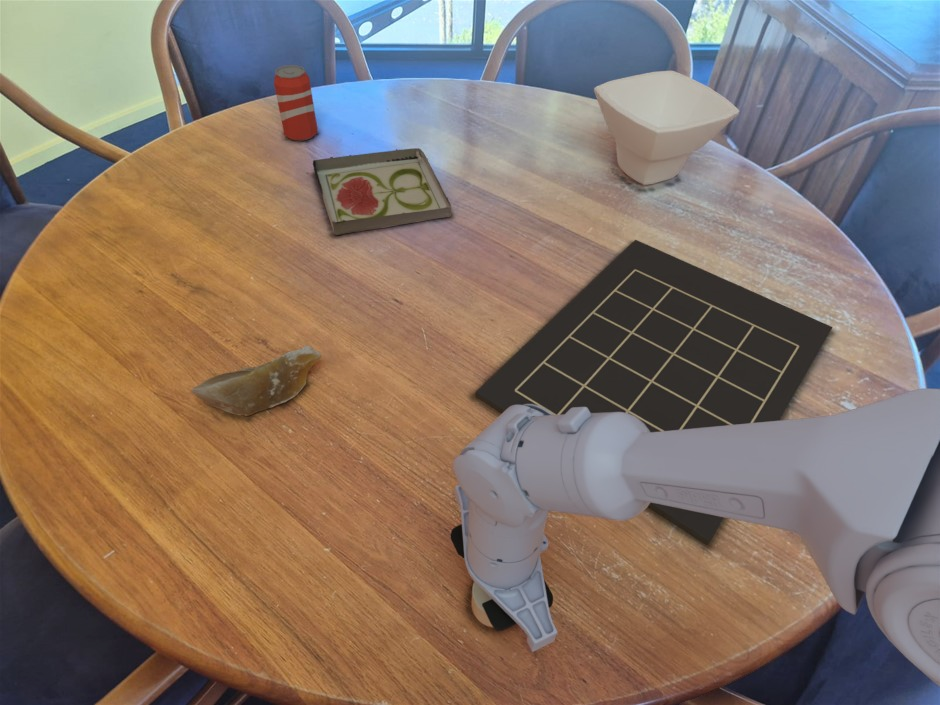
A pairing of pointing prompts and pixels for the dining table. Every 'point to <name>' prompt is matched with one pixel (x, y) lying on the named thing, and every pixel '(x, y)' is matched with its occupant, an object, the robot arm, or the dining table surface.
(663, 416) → the board
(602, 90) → the bowl
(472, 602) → the cylinder
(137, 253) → the dining table surface
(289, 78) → the beverage can
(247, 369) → the stone
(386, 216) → the decorative tile
